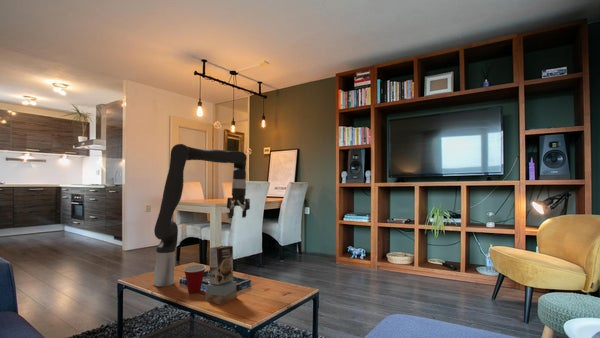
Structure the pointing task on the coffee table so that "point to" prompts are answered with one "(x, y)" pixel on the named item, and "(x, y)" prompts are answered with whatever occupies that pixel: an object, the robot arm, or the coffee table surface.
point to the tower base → (221, 298)
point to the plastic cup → (194, 277)
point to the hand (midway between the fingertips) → (237, 216)
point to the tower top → (221, 288)
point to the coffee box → (221, 264)
